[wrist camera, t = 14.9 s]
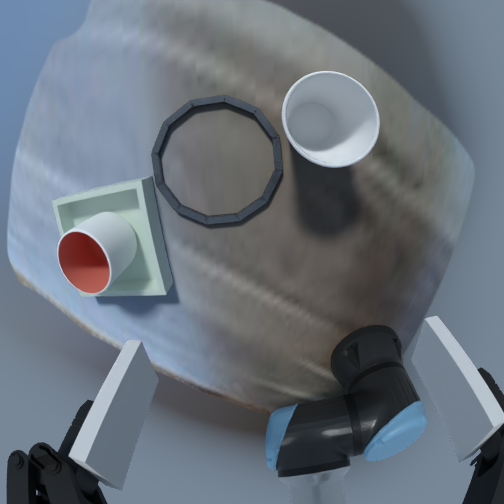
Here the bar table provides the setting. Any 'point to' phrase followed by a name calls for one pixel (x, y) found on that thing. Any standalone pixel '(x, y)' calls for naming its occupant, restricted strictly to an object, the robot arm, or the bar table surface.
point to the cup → (96, 252)
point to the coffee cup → (330, 119)
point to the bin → (142, 222)
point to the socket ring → (195, 214)
